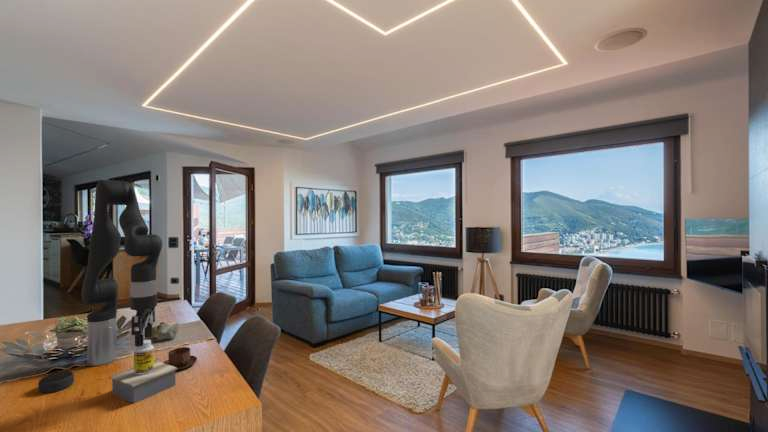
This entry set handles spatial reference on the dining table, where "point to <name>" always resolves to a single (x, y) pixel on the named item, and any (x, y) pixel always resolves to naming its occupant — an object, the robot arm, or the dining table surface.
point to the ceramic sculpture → (163, 332)
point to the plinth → (143, 382)
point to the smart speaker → (56, 382)
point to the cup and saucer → (180, 358)
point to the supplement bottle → (144, 358)
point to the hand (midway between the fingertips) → (144, 341)
